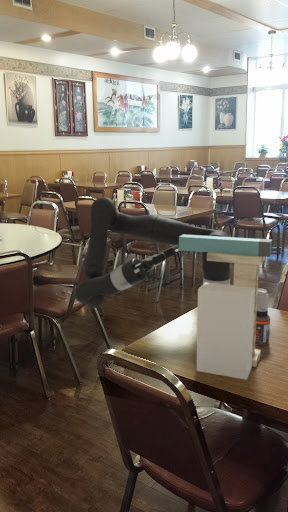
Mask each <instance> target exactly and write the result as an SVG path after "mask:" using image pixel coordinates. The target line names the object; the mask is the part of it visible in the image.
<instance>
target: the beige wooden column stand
mask: <svg viewBox="0 0 288 512" xmlns="http://www.w3.org/2000/svg"><path fill="white" fill-rule="evenodd" d="M265 260H266V257H264V256H253V255H239V254H225V253H212V252H209V253H207V261H217V262H229V263H230V264H231V263H232V264H233V263H234V265H233V285H236V286H246V287H255V298H254V321H253V344H252V367H254V368H256V367H257V365H258V363H259V361H260V359H261V355H262V354H261V353H262V352H261V351H262V349H259V348H256V345H255V338H256V316H257V293H258V288H259V268H260V267H259V266H261V265H262V264H263V262H264V261H265Z"/></svg>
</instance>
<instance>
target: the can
mask: <svg viewBox="0 0 288 512" xmlns="http://www.w3.org/2000/svg"><path fill="white" fill-rule="evenodd" d="M269 297H270V296H269V293H268V290H267V289H264V288H261V287H258V293H257V307H263V308H266V309H267V310H268V311H269Z"/></svg>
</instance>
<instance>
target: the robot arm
mask: <svg viewBox="0 0 288 512" xmlns="http://www.w3.org/2000/svg"><path fill="white" fill-rule="evenodd" d="M109 232H116V233H122V234H126V235H129V236H130V235H131V236H134V237H137V238H141V239H145V240H148V241H151V242H153V243H154V242H156V243H158V244H162V245H167V246H179V236H181V235H183V234H185V235H202V236H219V237H231V236H230V235H229V234H228V233H227V232H225V231H223V230H218V229H211V228H204V227H199V226H194V225H191V224H189V223H185V222H183V221H180V220H176V219H173V218H170V217H165V216H162V215H157V214H144V215H143V214H142V215H129V214H125V213H122V212H119V211H117V207H116V205H115V203H114V201H113V200H112V199H111V198H110V197H107V196H101V197H98V198H96V199H95V200H94V201H93V202H92V204H91V205H90V229H89V237H88V238H89V239H88V245H87V251H86V256H85V262H84V266H83V267H84V268H83V276H84V277H85V278H86V280H83V281H82V282H80V283H79V284H78V285H77V286H76V287H75V290H74V292H73V293H74V295H73V296H74V298H75V299H76V301H78V302H79V303H82V304H83V305H86V306H87V307H89V308H92V309H98V308H100V307H101V306H102V305H103V304H104V302H105V299H106V297H107V296H108V297H110V296H111V297H112V296H113V295H116V294H118V293H120V292H122V291H123V290H127V289H130V288H132V287H133V286H136V285H137V284H139V283H142V282H143V281H145V280H146V279H147V273H148V272H150V271H152V270H153V269H155V267H158V266H159V265H161V264H162V262H164V261H166V260H167V259H168V258H170V257H172V256H174V255H176V253H177V251H176V249H175V247H170V248H168V249H167V250H162V251H160V253H158V254H157V253H155V254H153V255H151V256H149V257H145V258H144V259H142V260H140V259H138V258H136V257H135V258H132V259H130V260H128V261H127V262H125V263H123V264H121V265H119V266H117V267H116V268H114V269H113V270H111V271H110V272H108V273H106V274H105V270H106V266H107V265H106V264H107V259H108V258H107V257H108V233H109ZM201 253H202V257H201V258H202V264H201V265H202V267H201V268H202V274H203V276H202V277H203V279H202V285H203V284H204V283H205V282H206V283H216V284H226V285H231V267H230V266H231V265H230V264H231V263H229V262H217V261H207V253H209V252H201Z"/></svg>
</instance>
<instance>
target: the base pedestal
mask: <svg viewBox="0 0 288 512" xmlns="http://www.w3.org/2000/svg"><path fill="white" fill-rule="evenodd" d="M254 298H255V287H246V286H236V285H234V284H230V285H226V284H216V283H206V282H205V283H204V284H203V283H202V284H201V286H200V287H199V288H198V289H197V318H196V319H197V323H196V324H197V327H196V328H197V330H196V331H197V332H196V335H197V337H196V372H200V373H201V372H202V373H206V374H207V373H208V374H213V375H219V376H224V377H229V378H235V379H241V380H245V381H246V380H248V378H249V376H250V374H251V371H252V367H253V366H252V344H253V321H254Z"/></svg>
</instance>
